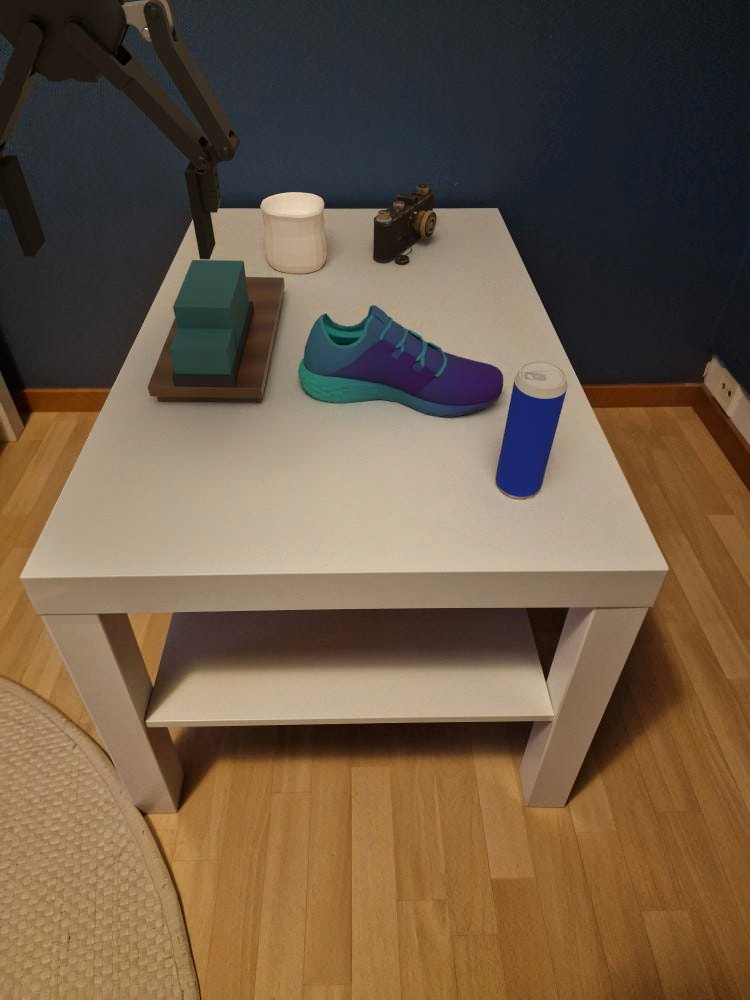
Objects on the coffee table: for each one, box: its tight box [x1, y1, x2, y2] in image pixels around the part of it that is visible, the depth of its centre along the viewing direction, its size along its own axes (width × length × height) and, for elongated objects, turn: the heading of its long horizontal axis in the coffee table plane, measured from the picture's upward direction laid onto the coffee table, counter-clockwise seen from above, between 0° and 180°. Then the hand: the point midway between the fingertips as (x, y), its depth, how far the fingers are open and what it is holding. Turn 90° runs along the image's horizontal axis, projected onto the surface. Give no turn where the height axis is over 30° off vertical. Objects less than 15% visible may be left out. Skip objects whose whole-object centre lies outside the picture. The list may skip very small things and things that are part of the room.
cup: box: [259, 191, 328, 275], centre depth 110 cm, size 10×10×10 cm
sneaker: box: [297, 304, 504, 418], centre depth 85 cm, size 10×26×12 cm, turn 81°
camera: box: [372, 183, 438, 266], centre depth 116 cm, size 16×7×8 cm, turn 148°
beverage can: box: [494, 360, 568, 499], centre depth 72 cm, size 5×5×15 cm
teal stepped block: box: [170, 259, 254, 387], centre depth 88 cm, size 18×8×8 cm, turn 0°
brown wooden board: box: [147, 276, 286, 404], centre depth 95 cm, size 28×14×3 cm, turn 0°
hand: (121, 250), depth 54 cm, fingers open, 13 cm apart
